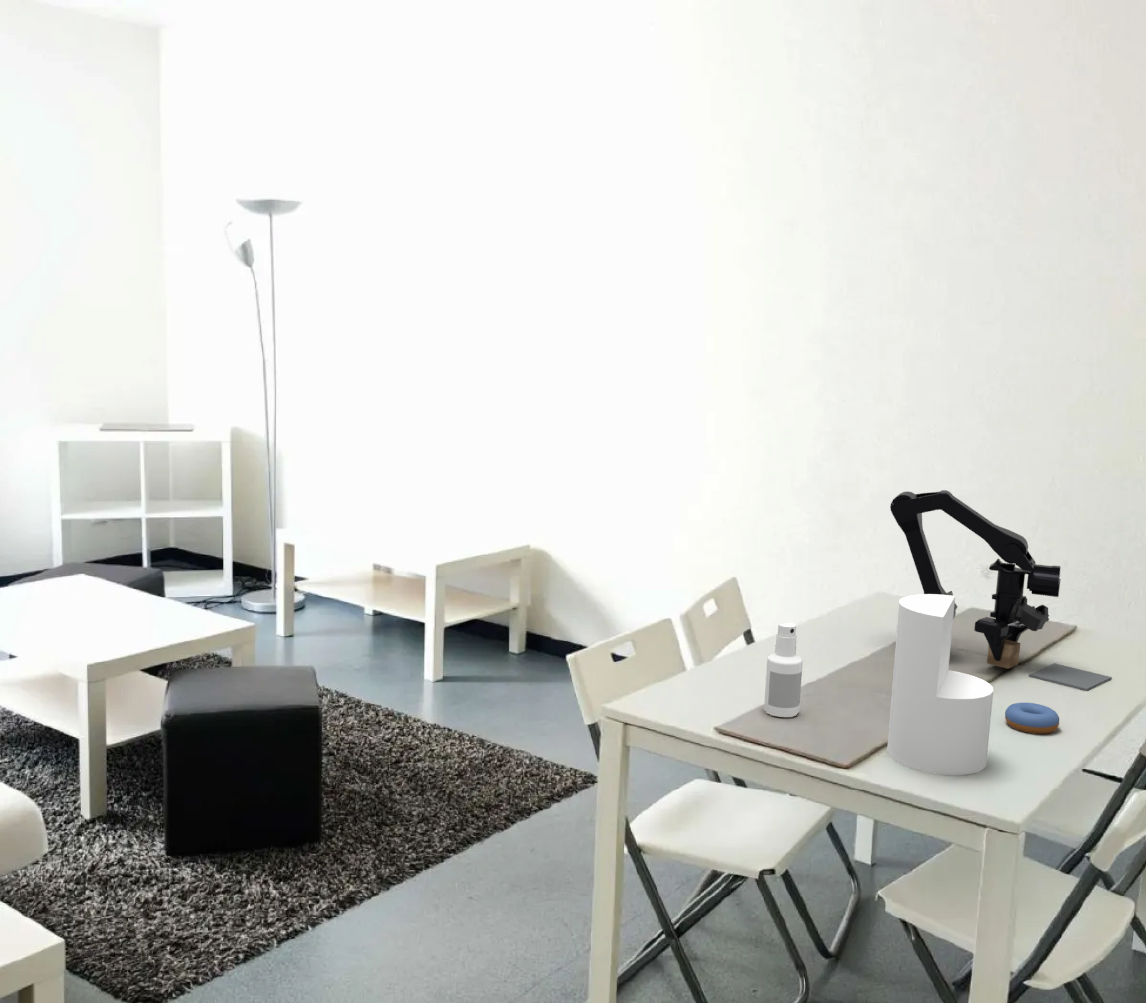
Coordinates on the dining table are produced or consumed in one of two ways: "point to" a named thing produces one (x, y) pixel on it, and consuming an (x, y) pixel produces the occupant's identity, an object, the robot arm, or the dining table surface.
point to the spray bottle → (784, 674)
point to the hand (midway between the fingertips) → (1003, 658)
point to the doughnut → (1032, 718)
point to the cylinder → (935, 695)
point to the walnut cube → (1006, 655)
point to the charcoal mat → (1070, 676)
